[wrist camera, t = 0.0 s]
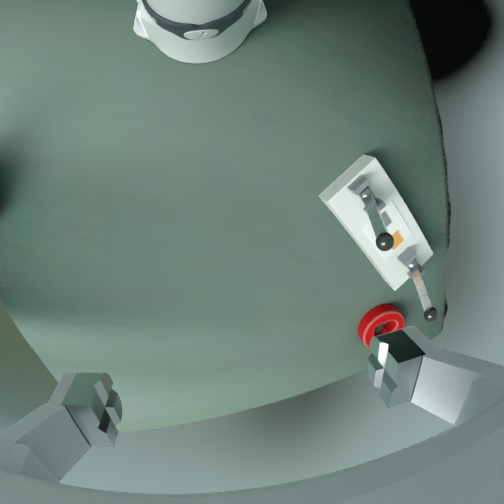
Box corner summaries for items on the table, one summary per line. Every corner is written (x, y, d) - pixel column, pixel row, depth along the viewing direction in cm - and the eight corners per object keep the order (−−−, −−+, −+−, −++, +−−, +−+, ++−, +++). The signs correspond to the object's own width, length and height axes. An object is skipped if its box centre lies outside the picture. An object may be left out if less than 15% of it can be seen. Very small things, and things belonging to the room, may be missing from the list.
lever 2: (402, 259, 50) (422, 318, 39) (413, 253, 49) (436, 311, 38) (409, 270, 51) (429, 328, 40) (419, 264, 50) (441, 321, 39)
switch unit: (318, 195, 48) (333, 206, 42) (363, 154, 46) (383, 160, 40) (384, 280, 56) (401, 298, 50) (421, 245, 54) (441, 259, 48)
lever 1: (354, 190, 44) (372, 243, 33) (366, 182, 43) (388, 233, 32) (365, 204, 45) (384, 260, 34) (377, 197, 44) (400, 251, 33)
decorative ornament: (365, 303, 58) (372, 312, 55) (403, 303, 59) (411, 311, 56) (351, 342, 61) (357, 352, 58) (389, 340, 63) (395, 348, 60)
